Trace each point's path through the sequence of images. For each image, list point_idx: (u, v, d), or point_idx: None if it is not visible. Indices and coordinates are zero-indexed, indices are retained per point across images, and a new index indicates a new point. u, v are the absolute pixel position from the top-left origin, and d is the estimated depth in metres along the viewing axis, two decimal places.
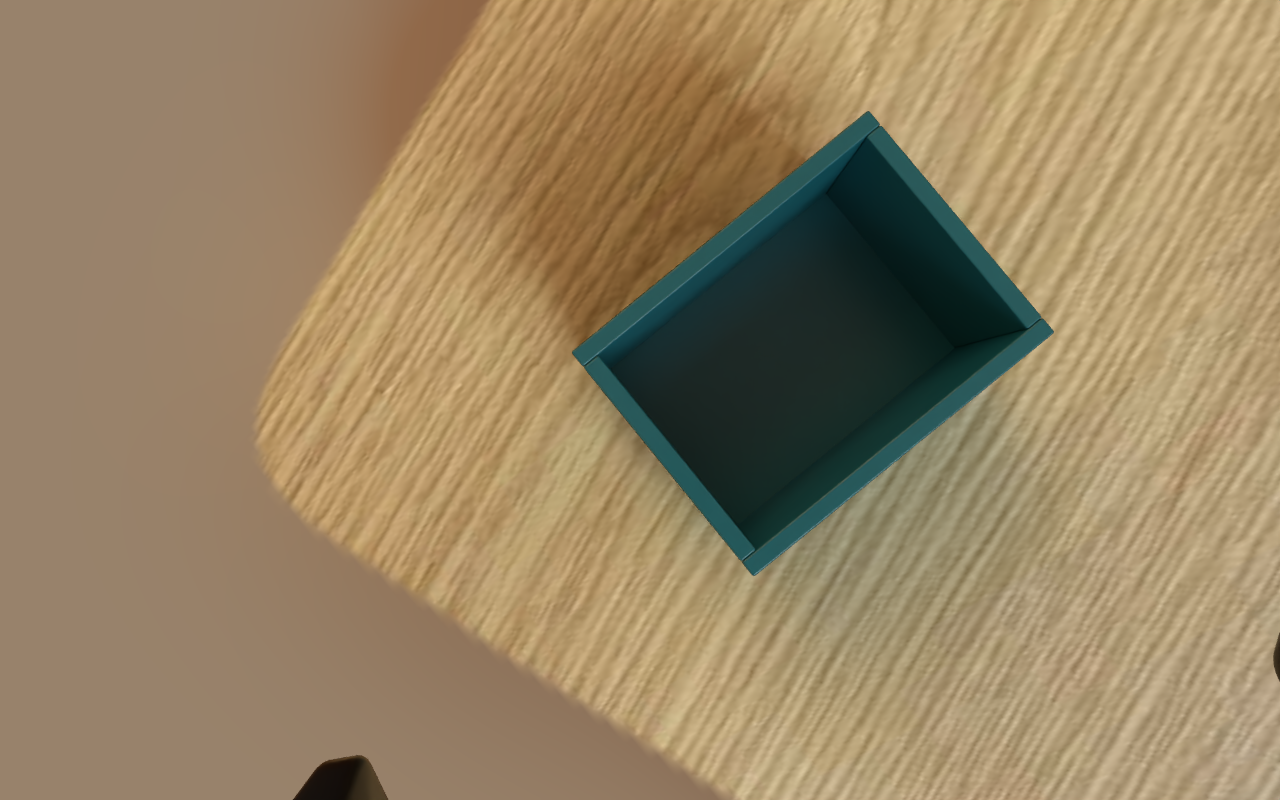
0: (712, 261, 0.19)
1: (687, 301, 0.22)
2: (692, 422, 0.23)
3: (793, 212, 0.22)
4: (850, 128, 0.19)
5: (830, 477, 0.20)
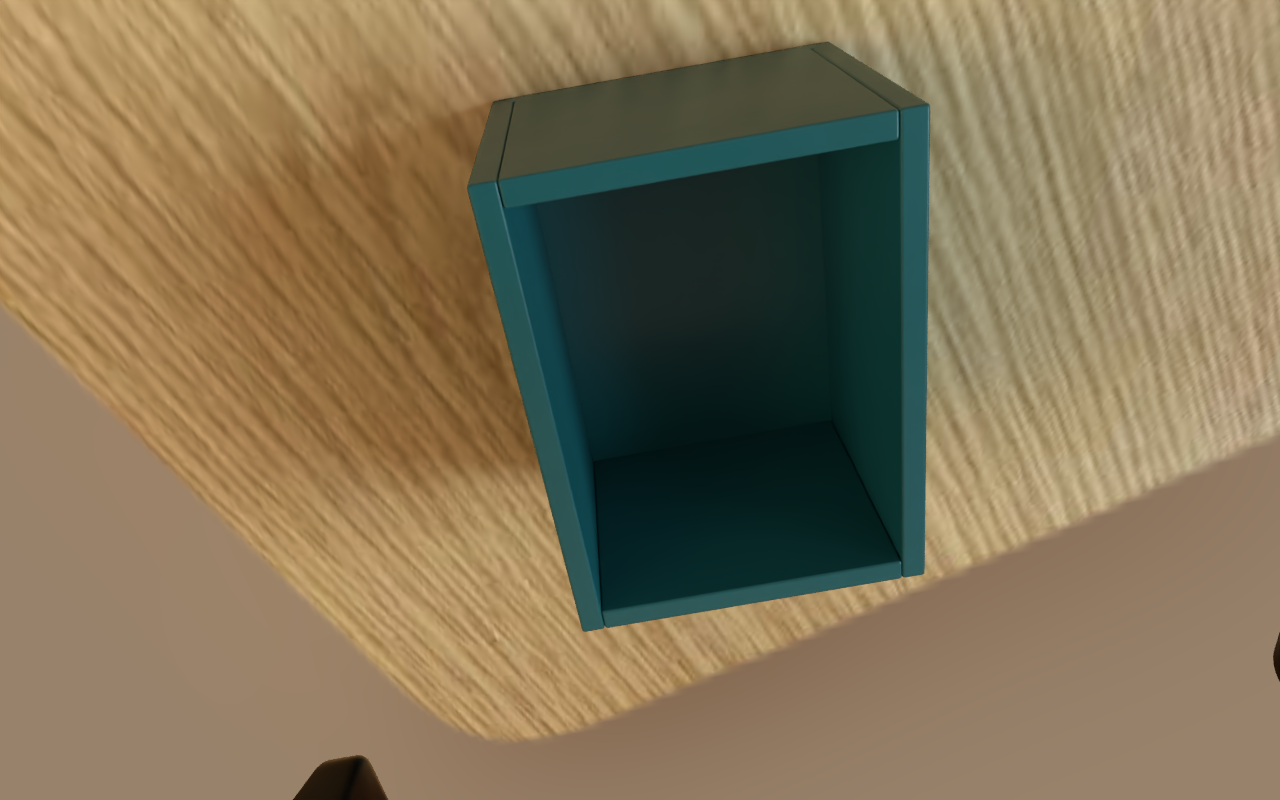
0: (565, 463, 0.14)
1: (571, 384, 0.17)
2: (700, 412, 0.19)
3: (532, 230, 0.15)
4: (480, 224, 0.12)
5: (878, 413, 0.15)
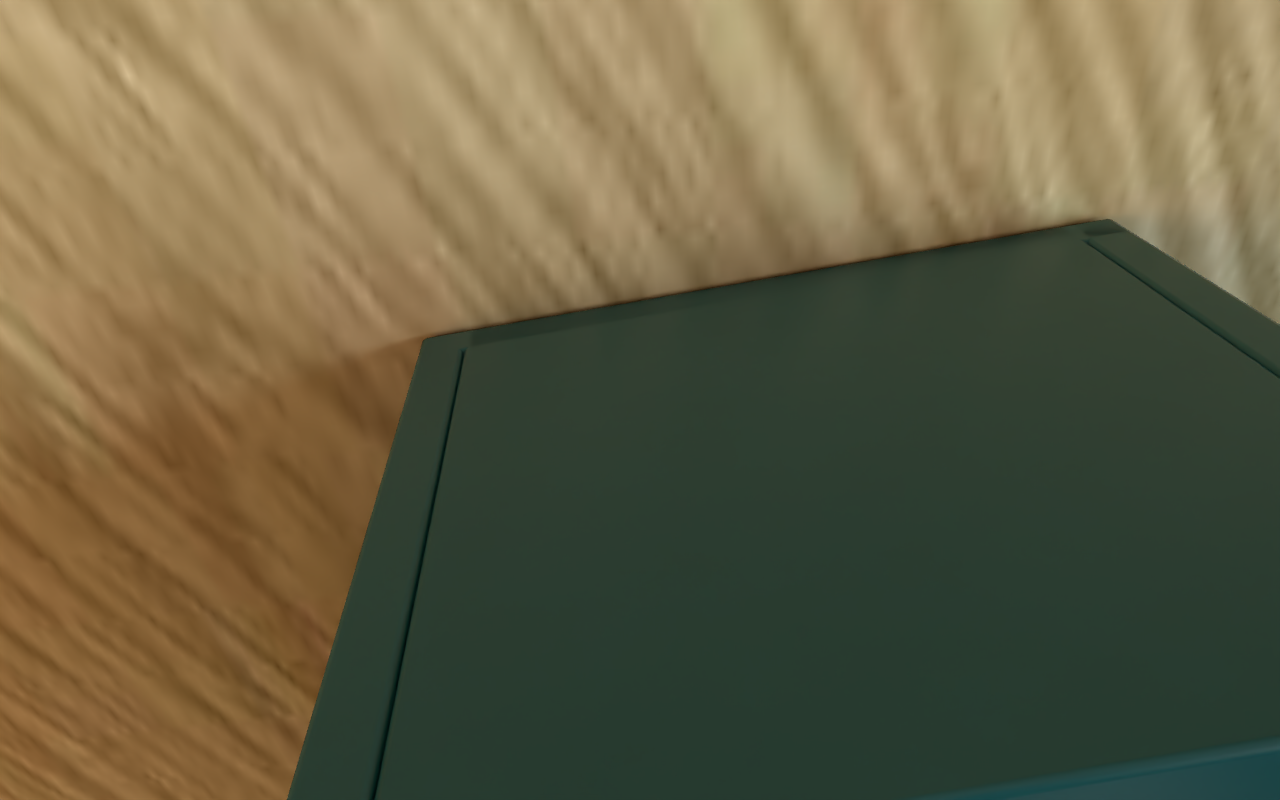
0: None
1: None
2: None
3: None
4: None
5: None
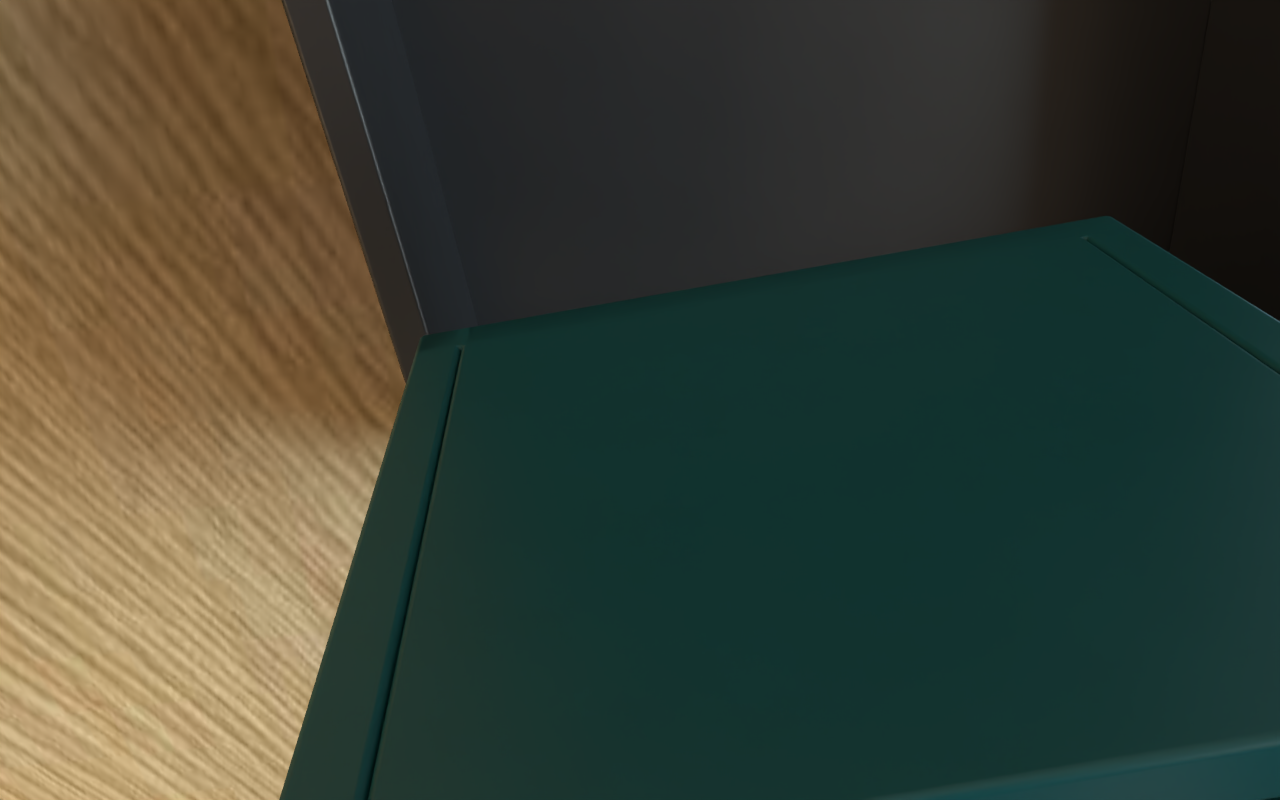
0: None
1: None
2: None
3: None
4: None
5: None
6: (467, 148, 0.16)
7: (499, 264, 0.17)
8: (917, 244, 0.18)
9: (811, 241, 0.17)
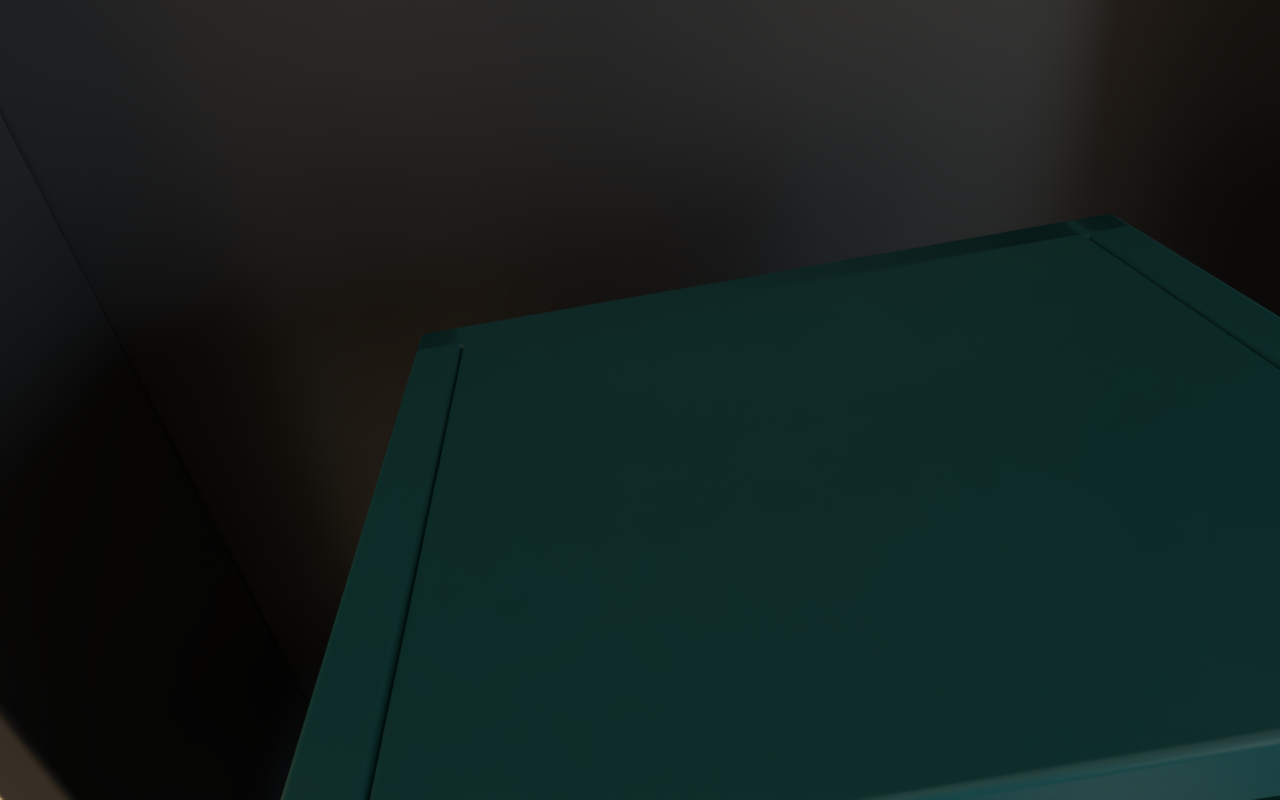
0: None
1: None
2: None
3: None
4: None
5: None
6: (239, 468, 0.11)
7: (308, 599, 0.12)
8: None
9: None
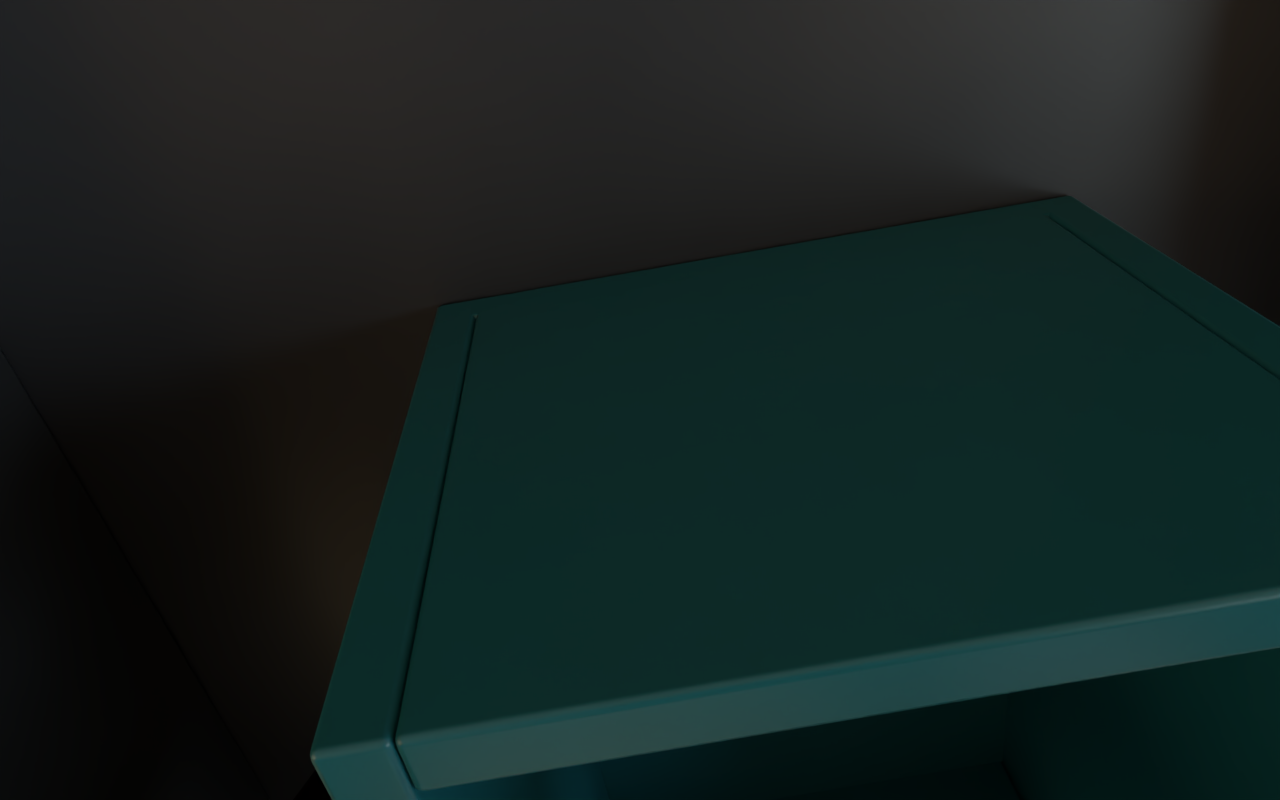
0: None
1: (583, 774, 0.10)
2: (793, 759, 0.11)
3: None
4: None
5: None
6: (195, 566, 0.10)
7: (277, 704, 0.11)
8: None
9: None
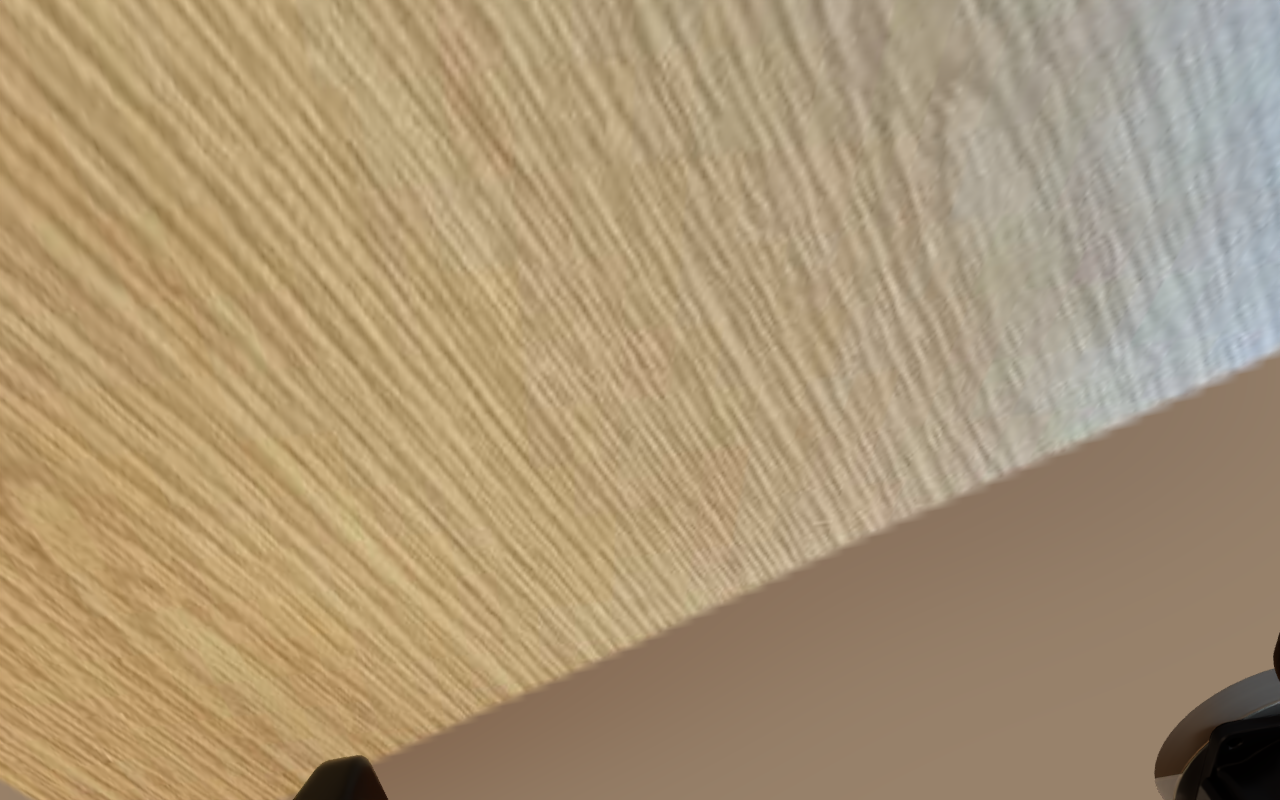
0: None
1: None
2: None
3: None
4: None
5: None
6: None
7: None
8: None
9: None
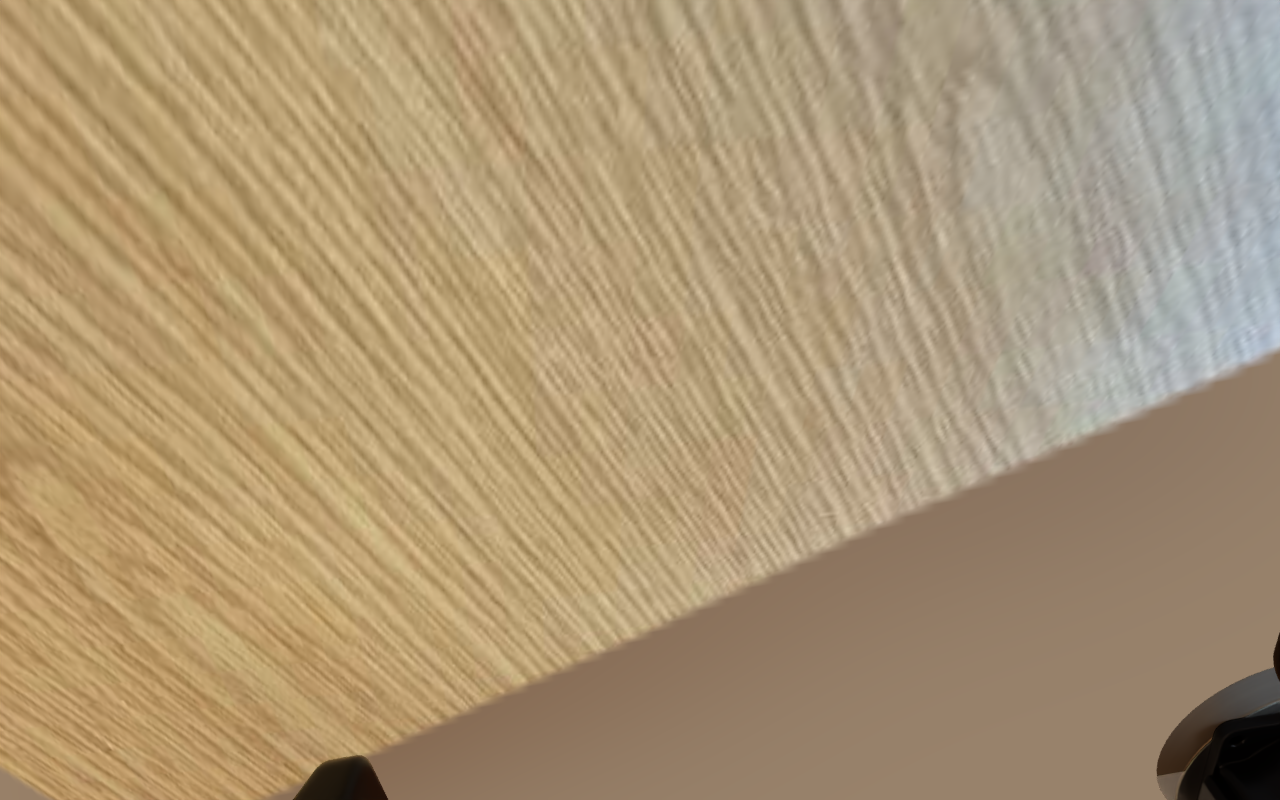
0: None
1: None
2: None
3: None
4: None
5: None
6: None
7: None
8: None
9: None
